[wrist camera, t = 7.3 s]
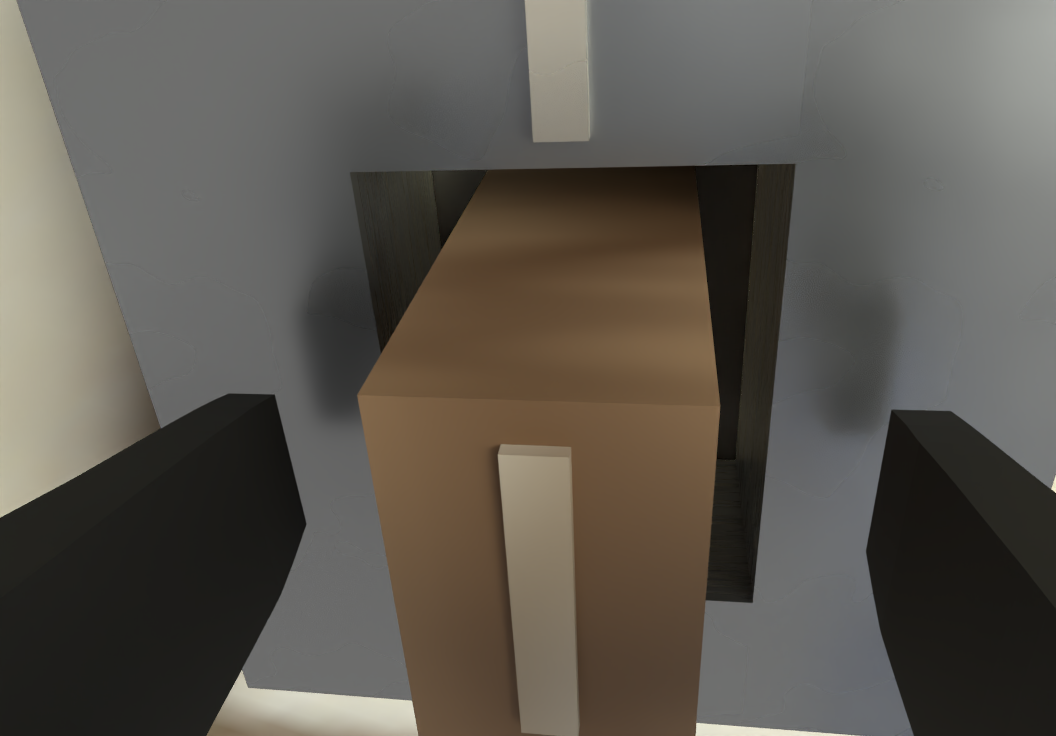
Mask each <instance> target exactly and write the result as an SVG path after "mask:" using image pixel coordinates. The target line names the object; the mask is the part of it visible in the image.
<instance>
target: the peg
mask: <svg viewBox="0 0 1056 736" xmlns="http://www.w3.org/2000/svg"><path fill="white" fill-rule="evenodd" d="M357 397H358V403H359V408H360V414H361V419H362V425H363V430H364V436H365V441H366V447H367V453H368V458H369V464H370V469H371V475H372V480H373V486H374V491H375V497H376V502H377V508H378V514H379V519H380V525H381V530H382V536H383V541H384V547H385V552H386V558H387V563H388V569H389V574H390V580H391V586H392V591H393V597H394V602H395V608H396V613H397V619H398V624H399V630H400V635H401V641H402V646H403V652H404V658H405V663H406V669H407V674H408V680H409V685H410V691H411V696H412V702H413V707H414V713H415V718H416V724H417V730H418V735H419V736H695V734H696V720H697V707H698V694H699V681H700V668H701V655H702V641H703V628H704V615H705V602H706V589H707V575H708V562H709V549H710V536H711V523H712V510H713V496H714V483H715V470H716V457H717V444H718V431H719V417H720V399H719V389H718V380H717V371H716V361H715V352H714V342H713V333H712V323H711V314H710V305H709V295H708V286H707V276H706V267H705V258H704V248H703V239H702V229H701V220H700V211H699V201H698V192H697V182H696V173H695V166H649V167H597V168H545V169H493V170H487V172H486V174H485V176H484V177H483V179H482V181H481V182H480V184H479V186H478V188H477V189H476V191H475V193H474V195H473V196H472V198H471V200H470V201H469V203H468V205H467V207H466V208H465V210H464V212H463V214H462V215H461V217H460V219H459V220H458V222H457V224H456V226H455V227H454V229H453V231H452V232H451V234H450V236H449V238H448V239H447V241H446V243H445V245H444V246H443V248H442V250H441V251H440V253H439V255H438V257H437V258H436V260H435V262H434V264H433V265H432V267H431V269H430V270H429V272H428V274H427V276H426V277H425V279H424V281H423V283H422V284H421V286H420V288H419V289H418V291H417V293H416V295H415V296H414V298H413V300H412V301H411V303H410V305H409V307H408V308H407V310H406V312H405V314H404V315H403V317H402V319H401V320H400V322H399V324H398V326H397V327H396V329H395V331H394V333H393V334H392V336H391V338H390V339H389V341H388V343H387V345H386V346H385V348H384V350H383V352H382V353H381V355H380V357H379V358H378V360H377V362H376V364H375V365H374V367H373V369H372V370H371V372H370V374H369V376H368V377H367V379H366V381H365V383H364V384H363V386H362V388H361V389H360V391H359V393H358V395H357Z"/></svg>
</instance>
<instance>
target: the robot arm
mask: <svg viewBox="0 0 1056 736" xmlns="http://www.w3.org/2000/svg"><path fill="white" fill-rule="evenodd" d="M306 525H307V523H306V519H305V515H304V511H303V507H302V503H301V499H300V495H299V491H298V487H297V483H296V479H295V475H294V470H293V466H292V462H291V458H290V454H289V450H288V446H287V442H286V438H285V434H284V430H283V426H282V422H281V418H280V414H279V410H278V405H277V401H276V397H275V394H236V393H228V394H226V395H224V396H222V397H219V398H217V399H215V400H213V401H211V402H209V403H207V404H205V405H203V406H201V407H199V408H197V409H195V410H193V411H191V412H189V413H188V414H186V415H184V416H182V417H180V418H179V419H177V420H175V421H173V422H171V423H170V424H168V425H166V426H164V427H163V428H161V429H159V430H157V431H156V432H154V433H152V434H150V435H149V436H147V437H145V438H143V439H142V440H140V441H138V442H137V443H135V444H133V445H131V446H130V447H128V448H126V449H124V450H123V451H121V452H119V453H117V454H116V455H114V456H112V457H110V458H109V459H107V460H105V461H103V462H102V463H100V464H98V465H96V466H95V467H93V468H91V469H89V470H88V471H86V472H84V473H82V474H81V475H79V476H77V477H75V478H74V479H72V480H70V481H68V482H66V483H65V484H63V485H61V486H59V487H57V488H55V489H53V490H51V491H50V492H48V493H46V494H44V495H42V496H40V497H38V498H36V499H35V500H33V501H31V502H29V503H27V504H25V505H23V506H21V507H20V508H18V509H16V510H14V511H12V512H10V513H8V514H6V515H5V516H3V517H1V518H0V736H206V735H207V733H208V731H209V729H210V728H211V726H212V724H213V722H214V720H215V718H216V716H217V715H218V713H219V711H220V709H221V707H222V705H223V703H224V702H225V700H226V698H227V696H228V694H229V692H230V690H231V689H232V687H233V685H234V683H235V681H236V679H237V677H238V676H239V674H240V672H241V670H242V668H243V666H244V664H245V663H246V661H247V659H248V657H249V655H250V653H251V651H252V650H253V648H254V646H255V644H256V642H257V640H258V638H259V636H260V634H261V632H262V631H263V629H264V627H265V625H266V623H267V621H268V619H269V617H270V615H271V613H272V611H273V610H274V608H275V606H276V604H277V602H278V600H279V598H280V596H281V593H282V591H283V588H284V586H285V583H286V580H287V578H288V575H289V573H290V570H291V568H292V565H293V562H294V559H295V557H296V554H297V551H298V548H299V545H300V542H301V539H302V536H303V533H304V530H305V527H306ZM866 556H867V562H868V567H869V573H870V579H871V585H872V591H873V596H874V601H875V607H876V612H877V617H878V622H879V627H880V632H881V635H882V639H883V642H884V645H885V648H886V652H887V655H888V658H889V661H890V664H891V667H892V670H893V673H894V677H895V680H896V683H897V686H898V689H899V692H900V695H901V698H902V701H903V705H904V708H905V711H906V714H907V717H908V720H909V723H910V726H911V729H912V732H913V735H914V736H1056V493H1055V492H1054V491H1053V490H1051V489H1050V488H1049V487H1047V486H1046V485H1045V484H1044V483H1042V482H1041V481H1040V480H1039V479H1037V478H1036V477H1035V476H1034V475H1032V474H1031V473H1030V472H1029V471H1027V470H1026V469H1025V468H1024V467H1022V466H1021V465H1020V464H1019V463H1017V462H1016V461H1015V460H1014V459H1012V458H1011V457H1010V456H1009V455H1007V454H1006V453H1005V452H1004V451H1002V450H1001V449H1000V448H999V447H997V446H996V445H995V444H994V443H992V442H991V441H990V440H989V439H987V438H986V437H985V436H984V435H982V434H981V433H980V432H978V431H977V430H976V429H975V428H973V427H972V426H971V425H969V424H968V423H967V422H965V421H964V420H963V419H961V418H960V417H959V416H957V415H956V414H954V413H953V412H951V411H933V410H892V409H891V414H890V420H889V425H888V431H887V437H886V442H885V448H884V453H883V459H882V464H881V470H880V475H879V481H878V486H877V492H876V498H875V503H874V509H873V514H872V520H871V525H870V531H869V536H868V542H867V547H866Z"/></svg>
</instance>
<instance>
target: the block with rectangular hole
mask: <svg viewBox="0 0 1056 736" xmlns="http://www.w3.org/2000/svg"><path fill="white" fill-rule="evenodd" d="M17 3H18V6H19V9H20V12H21V15H22V18H23V21H24V24H25V27H26V30H27V33H28V36H29V39H30V42H31V44H32V47H33V50H34V53H35V56H36V59H37V62H38V65H39V68H40V71H41V74H42V77H43V80H44V83H45V86H46V89H47V92H48V95H49V98H50V101H51V104H52V107H53V110H54V113H55V116H56V119H57V122H58V125H59V128H60V131H61V134H62V136H63V139H64V142H65V145H66V148H67V151H68V154H69V157H70V160H71V163H72V166H73V169H74V172H75V175H76V178H77V181H78V184H79V187H80V190H81V193H82V196H83V199H84V202H85V205H86V208H87V211H88V214H89V217H90V220H91V223H92V226H93V229H94V231H95V234H96V237H97V240H98V243H99V246H100V249H101V252H102V255H103V258H104V261H105V264H106V267H107V270H108V273H109V276H110V279H111V282H112V285H113V288H114V291H115V294H116V297H117V300H118V303H119V306H120V309H121V312H122V315H123V318H124V321H125V323H126V326H127V329H128V332H129V335H130V338H131V341H132V344H133V347H134V350H135V353H136V356H137V359H138V362H139V365H140V368H141V371H142V374H143V377H144V380H145V383H146V386H147V389H148V392H149V395H150V398H151V401H152V404H153V407H154V410H155V413H156V416H157V418H158V421H159V424H160V427H161V428H163V427H164V426H166V425H168V424H170V423H171V422H173V421H175V420H177V419H179V418H180V417H182V416H184V415H186V414H188V413H189V412H191V411H193V410H195V409H197V408H199V407H201V406H203V405H205V404H207V403H209V402H211V401H213V400H215V399H217V398H219V397H222V396H224V395H226V394H228V393H236V394H275V397H276V401H277V405H278V410H279V414H280V418H281V422H282V426H283V430H284V434H285V438H286V442H287V446H288V450H289V454H290V458H291V462H292V466H293V470H294V475H295V479H296V483H297V487H298V491H299V495H300V499H301V503H302V507H303V511H304V515H305V519H306V523H307V525H306V527H305V530H304V533H303V536H302V539H301V542H300V545H299V548H298V551H297V554H296V557H295V559H294V562H293V565H292V568H291V570H290V573H289V575H288V578H287V580H286V583H285V586H284V588H283V591H282V593H281V596H280V598H279V600H278V602H277V604H276V606H275V608H274V610H273V611H272V613H271V615H270V617H269V619H268V621H267V623H266V625H265V627H264V629H263V631H262V632H261V634H260V636H259V638H258V640H257V642H256V644H255V646H254V648H253V650H252V651H251V653H250V655H249V657H248V659H247V661H246V663H245V664H244V666H243V668H242V671H243V674H244V677H245V680H246V683H247V686H248V688H260V689H273V690H286V691H298V692H311V693H324V694H337V695H349V696H362V697H375V698H388V699H400V700H412V696H411V691H410V685H409V680H408V674H407V669H406V663H405V658H404V652H403V646H402V641H401V635H400V630H399V624H398V619H397V613H396V608H395V602H394V597H393V591H392V586H391V580H390V574H389V569H388V563H387V558H386V552H385V547H384V541H383V536H382V530H381V525H380V519H379V514H378V508H377V502H376V497H375V491H374V486H373V480H372V475H371V469H370V464H369V458H368V453H367V447H366V441H365V436H364V430H363V425H362V419H361V414H360V408H359V403H358V397H357V395H358V393H359V391H360V389H361V388H362V386H363V384H364V383H365V381H366V379H367V377H368V376H369V374H370V372H371V370H372V369H373V367H374V365H375V364H376V362H377V360H378V358H379V357H380V355H381V353H382V352H383V350H384V348H385V346H386V345H387V343H388V341H389V339H390V338H391V336H392V334H393V333H394V331H395V329H396V327H397V326H398V324H399V322H400V320H401V319H402V317H403V315H404V314H405V312H406V310H407V308H408V307H409V305H410V303H411V301H412V300H413V298H414V296H415V295H416V293H417V291H418V289H419V288H420V286H421V284H422V283H423V281H424V279H425V277H426V276H427V274H428V272H429V270H430V269H431V267H432V265H433V264H434V262H435V260H436V258H437V257H438V255H439V253H440V251H441V243H440V235H439V226H438V218H437V210H436V202H435V193H434V185H433V177H432V171H441V170H493V169H545V168H597V167H649V166H700V165H752V164H758V170H757V183H756V196H755V209H754V223H753V236H752V249H751V262H750V276H749V289H748V302H747V315H746V329H745V342H744V355H743V368H742V382H741V395H740V408H739V421H738V435H737V448H736V460H723V459H716V470H715V483H714V496H713V510H712V523H711V536H710V549H709V562H708V575H707V589H706V602H705V615H704V628H703V641H702V655H701V668H700V681H699V694H698V707H697V720H696V723H707V724H719V725H732V726H745V727H758V728H770V729H783V730H796V731H809V732H821V733H834V734H847V735H860V736H914V735H913V732H912V729H911V726H910V723H909V720H908V717H907V714H906V711H905V708H904V705H903V701H902V698H901V695H900V692H899V689H898V686H897V683H896V680H895V677H894V673H893V670H892V667H891V664H890V661H889V658H888V655H887V652H886V648H885V645H884V642H883V639H882V635H881V632H880V627H879V622H878V617H877V612H876V607H875V601H874V596H873V591H872V585H871V579H870V573H869V567H868V562H867V556H866V547H867V542H868V536H869V531H870V525H871V520H872V514H873V509H874V503H875V498H876V492H877V486H878V481H879V475H880V470H881V464H882V459H883V453H884V448H885V442H886V437H887V431H888V425H889V420H890V414H891V409H892V410H933V411H951V412H953V413H954V414H956V415H957V416H959V417H960V418H961V419H963V420H964V421H965V422H967V423H968V424H969V425H971V426H972V427H973V428H975V429H976V430H977V431H978V432H980V433H981V434H982V435H984V436H985V437H986V438H987V439H989V440H990V441H991V442H992V443H994V444H995V445H996V446H997V447H999V448H1000V449H1001V450H1002V451H1004V452H1005V453H1006V454H1007V455H1009V456H1010V457H1011V458H1012V459H1014V460H1015V461H1016V462H1017V463H1019V464H1020V465H1021V466H1022V467H1024V468H1025V469H1026V470H1027V471H1029V472H1030V473H1031V474H1032V475H1034V476H1035V477H1036V478H1037V479H1039V480H1040V481H1041V482H1042V483H1044V484H1045V485H1046V486H1047V487H1049V488H1050V489H1051V488H1052V485H1053V481H1054V478H1055V475H1056V0H17Z"/></svg>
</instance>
